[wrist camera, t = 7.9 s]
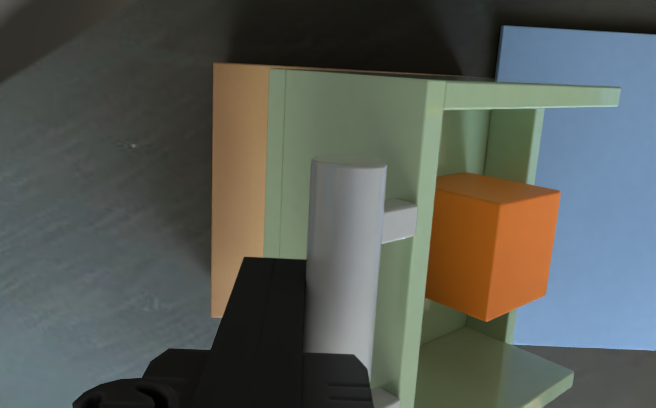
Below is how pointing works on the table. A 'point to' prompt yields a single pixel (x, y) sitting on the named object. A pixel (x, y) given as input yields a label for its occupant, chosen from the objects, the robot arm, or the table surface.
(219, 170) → the tan rectangular panel
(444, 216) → the block
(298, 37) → the table surface
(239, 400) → the robot arm
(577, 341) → the mat
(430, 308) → the green open box
